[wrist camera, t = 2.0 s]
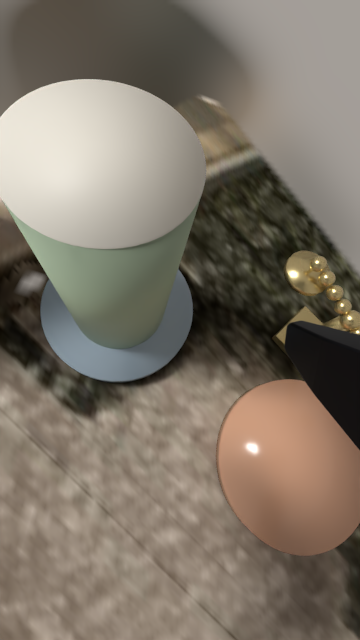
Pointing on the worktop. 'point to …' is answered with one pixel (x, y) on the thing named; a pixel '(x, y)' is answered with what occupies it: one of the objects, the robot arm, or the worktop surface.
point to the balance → (311, 279)
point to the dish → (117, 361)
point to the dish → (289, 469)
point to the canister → (103, 199)
